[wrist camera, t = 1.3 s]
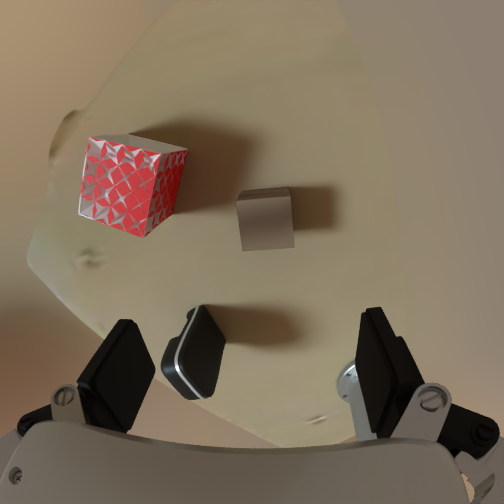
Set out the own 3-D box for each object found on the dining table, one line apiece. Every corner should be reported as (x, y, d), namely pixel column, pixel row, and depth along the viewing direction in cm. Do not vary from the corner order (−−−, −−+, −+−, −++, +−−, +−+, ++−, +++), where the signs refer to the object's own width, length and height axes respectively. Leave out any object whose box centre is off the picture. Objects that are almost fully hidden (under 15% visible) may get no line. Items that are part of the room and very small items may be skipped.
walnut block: (291, 230, 32) (294, 247, 27) (247, 234, 32) (242, 251, 28) (288, 186, 30) (290, 196, 25) (242, 191, 30) (235, 201, 26)
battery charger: (179, 310, 37) (150, 368, 27) (203, 301, 36) (178, 362, 26) (205, 346, 39) (186, 407, 29) (228, 340, 38) (213, 404, 28)
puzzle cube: (188, 148, 29) (161, 153, 22) (172, 214, 32) (143, 237, 25) (127, 133, 29) (88, 136, 21) (115, 196, 32) (77, 214, 24)
